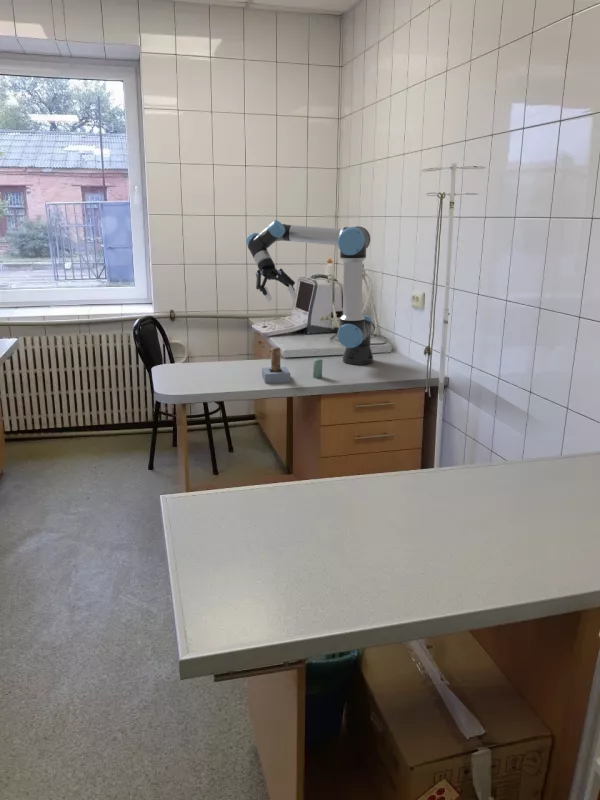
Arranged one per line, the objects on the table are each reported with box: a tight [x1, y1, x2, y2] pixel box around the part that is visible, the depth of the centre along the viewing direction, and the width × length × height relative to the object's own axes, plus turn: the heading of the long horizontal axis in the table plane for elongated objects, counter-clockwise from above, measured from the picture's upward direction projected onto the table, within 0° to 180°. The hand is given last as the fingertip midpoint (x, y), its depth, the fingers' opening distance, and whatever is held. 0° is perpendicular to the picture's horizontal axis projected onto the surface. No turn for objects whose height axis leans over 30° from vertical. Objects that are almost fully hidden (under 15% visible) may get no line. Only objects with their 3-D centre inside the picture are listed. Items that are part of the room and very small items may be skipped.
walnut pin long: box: [270, 346, 281, 372], centre depth 272 cm, size 4×4×14 cm
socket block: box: [261, 366, 291, 384], centre depth 274 cm, size 11×11×4 cm
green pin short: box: [312, 358, 323, 379], centre depth 277 cm, size 4×4×8 cm
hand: (282, 299), depth 283 cm, fingers open, 13 cm apart
